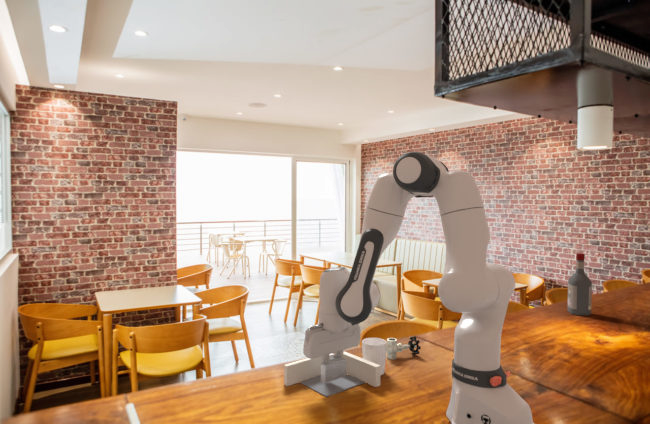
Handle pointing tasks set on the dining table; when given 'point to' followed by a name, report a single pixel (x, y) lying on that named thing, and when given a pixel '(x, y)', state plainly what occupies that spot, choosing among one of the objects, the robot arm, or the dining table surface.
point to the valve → (401, 347)
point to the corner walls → (312, 367)
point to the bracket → (333, 368)
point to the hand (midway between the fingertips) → (332, 366)
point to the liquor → (579, 290)
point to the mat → (332, 385)
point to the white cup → (375, 351)
